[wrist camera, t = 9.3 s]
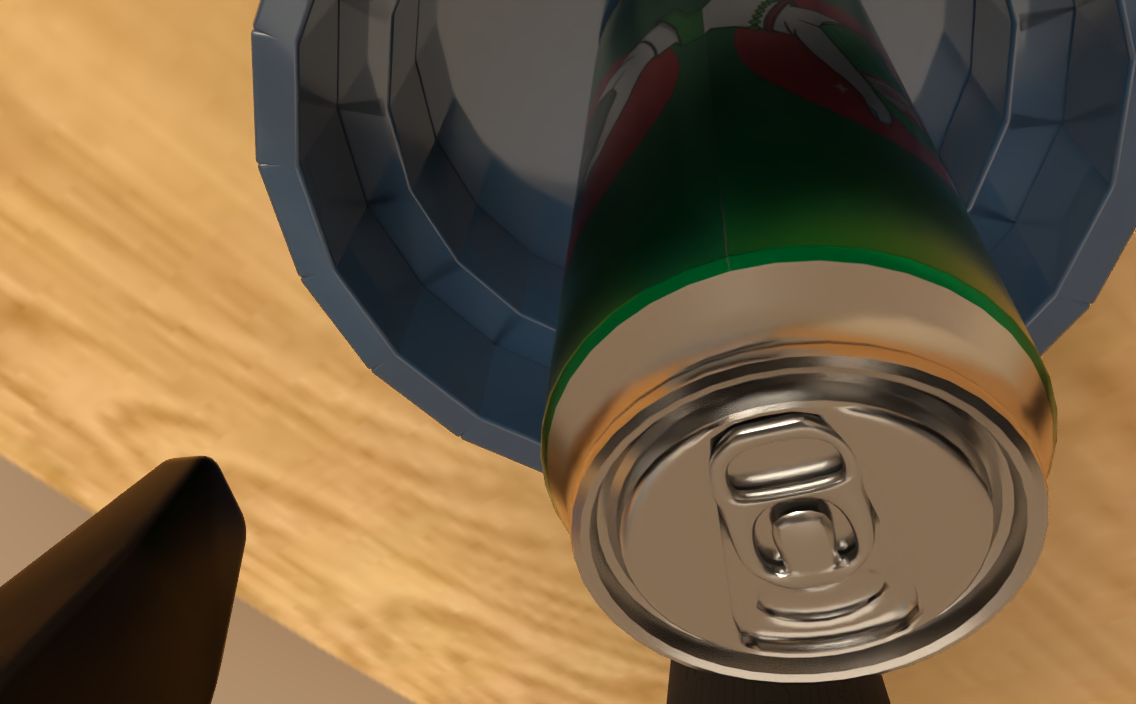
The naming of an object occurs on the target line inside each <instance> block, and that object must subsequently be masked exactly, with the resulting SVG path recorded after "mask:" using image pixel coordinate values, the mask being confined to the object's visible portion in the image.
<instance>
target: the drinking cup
mask: <svg viewBox="0 0 1136 704" xmlns="http://www.w3.org/2000/svg"><path fill="white" fill-rule="evenodd" d="M667 704H890V700H889V697H888V694H887V691H886V688H885V685H884V681H883V678H882V675H881V674H880V675H876V676H871V677H866V678H861V679H856V680H851V681H845V682H835V683H825V684H815V685H778V684H767V683H757V682H747V681H742V680H737V679H732V678H727V677H721V676H717V675H713V674H710V673H707V672H704V671H700V670H697V669H694V668H691V667H687V666H685V665H683V664H681V663H678V662H676V661H674V660H671V664H670V675H669V685H668V695H667Z"/></svg>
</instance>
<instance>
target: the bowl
mask: <svg viewBox="0 0 1136 704" xmlns="http://www.w3.org/2000/svg"><path fill="white" fill-rule="evenodd" d="M618 2H619V0H260V2H259V5H258V8H257V12H256V15H255V18H254V21H253V28H254V29H253V30H252V32H251V46H252V73H253V99H254V125H255V152H256V161H257V163H258V168H259V171H260V174H261V176H262V179H263V182H264V184H265V187H266V190H267V192H268V195H269V198H270V201H271V203H272V206H273V209H274V211H275V214H276V217H277V219H278V222H279V225H280V227H281V230H282V233H283V235H284V238H285V241H286V243H287V246H288V249H289V251H290V254H291V257H292V259H293V262H294V265H295V267H296V270H297V273H298V275H299V276H300V277H301V281H302V283H303V284H304V285H305V287H306V288H307V289H308V290H309V292H310V293H311V294H312V296H313V297H314V298H315V300H316V301H317V302H318V304H319V305H320V306H321V307H322V309H323V310H324V311H325V313H326V314H327V315H328V317H329V318H330V319H331V321H332V322H333V323H334V324H335V326H336V327H337V328H338V330H339V331H340V332H341V334H342V335H343V336H344V337H345V339H346V340H347V341H348V343H349V344H350V345H351V347H352V348H353V349H354V351H355V352H356V353H357V354H358V356H359V357H360V358H361V360H362V361H363V362H364V364H365V365H366V366H367V367H368V368H369V369H371V370H372V372H373V373H374V374H375V375H376V376H378V377H379V378H380V379H382V380H383V381H384V382H386V383H387V384H388V385H390V386H391V387H392V388H394V389H395V390H396V391H398V392H399V393H400V394H402V395H403V396H404V397H406V398H407V399H408V400H410V401H411V402H412V403H413V404H415V405H416V406H417V407H419V408H420V409H421V410H423V411H424V412H425V413H427V414H428V415H429V416H431V417H432V418H433V419H435V420H436V421H437V422H439V423H440V424H441V425H443V426H444V427H445V428H447V429H448V430H449V431H451V432H452V433H453V434H455V435H456V436H458V437H459V436H461V438H462V439H463V440H465V441H468V442H470V443H472V444H475V445H477V446H479V447H482V448H484V449H487V450H489V451H491V452H494V453H496V454H499V455H501V456H503V457H506V458H508V459H511V460H513V461H515V462H518V463H520V464H523V465H525V466H527V467H530V468H532V469H535V470H537V471H539V472H542V473H543V468H542V462H541V433H542V421H543V414H544V408H545V401H546V394H547V387H548V380H549V373H550V367H551V360H552V353H553V346H554V339H555V332H556V326H557V319H558V312H559V305H560V298H561V291H562V285H563V278H564V271H565V264H566V257H567V250H568V244H569V237H570V230H571V223H572V216H573V209H574V203H575V196H576V189H577V182H578V175H579V168H580V162H581V155H582V148H583V141H584V134H585V128H586V121H587V114H588V107H589V100H590V93H591V87H592V80H593V73H594V66H595V59H596V55H597V51H598V46H599V42H600V38H601V36H602V33H603V31H604V28H605V26H606V23H607V21H608V19H609V17H610V15H611V13H612V12H613V10H614V8H615V7H616V5H617V4H618ZM861 2H862V4H863V6H864V8H865V10H866V12H867V14H868V16H869V18H870V20H871V22H872V24H873V26H874V28H875V30H876V32H877V34H878V36H879V38H880V40H881V42H882V44H883V46H884V48H885V50H886V52H887V54H888V56H889V58H890V60H891V62H892V64H893V66H894V68H895V69H896V71H897V73H898V75H899V77H900V79H901V81H902V83H903V85H904V87H905V89H906V91H907V93H908V95H909V97H910V99H911V101H912V103H913V105H914V107H915V109H916V111H917V113H918V115H919V117H920V119H921V121H922V123H923V125H924V127H925V129H926V131H927V133H928V135H929V137H930V139H931V141H932V143H933V145H934V147H935V149H936V151H937V153H938V155H939V157H940V159H941V161H942V163H943V164H944V166H945V168H946V170H947V172H948V174H949V176H950V178H951V180H952V182H953V184H954V186H955V188H956V190H957V192H958V194H959V196H960V198H961V200H962V202H963V204H964V206H965V208H966V210H967V212H968V214H969V216H970V218H971V220H972V222H973V224H974V226H975V228H976V230H977V232H978V234H979V236H980V238H981V240H982V242H983V244H984V246H985V248H986V250H987V252H988V254H989V256H990V258H991V259H992V261H993V263H994V265H995V267H996V269H997V271H998V273H999V275H1000V277H1001V279H1002V281H1003V283H1004V285H1005V287H1006V289H1007V291H1008V293H1009V295H1010V297H1011V299H1012V301H1013V303H1014V305H1015V307H1016V309H1017V311H1018V313H1019V315H1020V317H1021V319H1022V321H1023V323H1024V325H1025V327H1026V329H1027V331H1028V333H1029V335H1030V337H1031V339H1032V341H1033V343H1034V345H1035V347H1036V349H1037V351H1038V353H1039V355H1040V356H1041V355H1042V354H1043V353H1044V352H1045V351H1046V350H1047V349H1048V348H1049V347H1050V346H1051V345H1052V344H1053V343H1054V342H1055V341H1056V340H1057V339H1059V338H1060V337H1061V336H1062V335H1063V334H1064V333H1065V332H1066V331H1067V330H1068V329H1069V328H1070V327H1071V326H1072V325H1073V324H1074V323H1075V322H1076V321H1077V320H1078V319H1079V318H1080V317H1081V316H1082V315H1083V314H1084V313H1085V312H1086V311H1087V310H1088V309H1089V307H1090V304H1093V303H1094V302H1095V300H1096V298H1097V297H1098V295H1099V293H1100V291H1101V289H1102V288H1103V286H1104V284H1105V282H1106V280H1107V279H1108V277H1109V275H1110V273H1111V271H1112V270H1113V268H1114V266H1115V264H1116V262H1117V261H1118V259H1119V257H1120V255H1121V253H1122V252H1123V250H1124V248H1125V246H1126V244H1127V243H1128V241H1129V239H1130V237H1131V235H1132V234H1133V232H1134V230H1135V228H1136V0H861Z"/></svg>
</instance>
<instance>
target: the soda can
mask: <svg viewBox="0 0 1136 704" xmlns="http://www.w3.org/2000/svg"><path fill="white" fill-rule="evenodd" d="M1056 442H1057V406H1056V402H1055V397H1054V393H1053V388H1052V384H1051V380H1050V376H1049V374H1048V372H1047V370H1046V368H1045V366H1044V363H1043V361H1042V359H1041V357H1040V355H1039V353H1038V351H1037V349H1036V347H1035V345H1034V343H1033V341H1032V339H1031V337H1030V335H1029V333H1028V331H1027V329H1026V327H1025V325H1024V323H1023V321H1022V319H1021V317H1020V315H1019V313H1018V311H1017V309H1016V307H1015V305H1014V303H1013V301H1012V299H1011V297H1010V295H1009V293H1008V291H1007V289H1006V287H1005V285H1004V283H1003V281H1002V279H1001V277H1000V275H999V273H998V271H997V269H996V267H995V265H994V263H993V261H992V259H991V258H990V256H989V254H988V252H987V250H986V248H985V246H984V244H983V242H982V240H981V238H980V236H979V234H978V232H977V230H976V228H975V226H974V224H973V222H972V220H971V218H970V216H969V214H968V212H967V210H966V208H965V206H964V204H963V202H962V200H961V198H960V196H959V194H958V192H957V190H956V188H955V186H954V184H953V182H952V180H951V178H950V176H949V174H948V172H947V170H946V168H945V166H944V164H943V163H942V161H941V159H940V157H939V155H938V153H937V151H936V149H935V147H934V145H933V143H932V141H931V139H930V137H929V135H928V133H927V131H926V129H925V127H924V125H923V123H922V121H921V119H920V117H919V115H918V113H917V111H916V109H915V107H914V105H913V103H912V101H911V99H910V97H909V95H908V93H907V91H906V89H905V87H904V85H903V83H902V81H901V79H900V77H899V75H898V73H897V71H896V69H895V68H894V66H893V64H892V62H891V60H890V58H889V56H888V54H887V52H886V50H885V48H884V46H883V44H882V42H881V40H880V38H879V36H878V34H877V32H876V30H875V28H874V26H873V24H872V22H871V20H870V18H869V16H868V14H867V12H866V10H865V8H864V6H863V4H862V2H861V0H619V2H618V4H617V5H616V7H615V8H614V10H613V12H612V13H611V15H610V17H609V19H608V21H607V23H606V26H605V28H604V31H603V33H602V36H601V38H600V42H599V46H598V51H597V55H596V59H595V66H594V73H593V80H592V87H591V93H590V100H589V107H588V114H587V121H586V128H585V134H584V141H583V148H582V155H581V162H580V168H579V175H578V182H577V189H576V196H575V203H574V209H573V216H572V223H571V230H570V237H569V244H568V250H567V257H566V264H565V271H564V278H563V285H562V291H561V298H560V305H559V312H558V319H557V326H556V332H555V339H554V346H553V353H552V360H551V367H550V373H549V380H548V387H547V394H546V401H545V408H544V414H543V421H542V433H541V462H542V468H543V474H544V480H545V485H546V488H547V491H548V493H549V496H550V498H551V501H552V504H553V506H554V509H555V511H556V513H557V515H558V517H559V518H560V520H561V521H562V523H563V525H564V526H565V528H566V529H567V531H568V533H569V534H570V539H571V545H572V552H573V555H574V559H575V561H576V564H577V567H578V569H579V572H580V574H581V577H582V580H583V582H584V584H585V585H586V587H587V589H588V590H589V592H590V593H591V595H592V597H593V598H594V600H595V601H596V603H597V604H598V605H599V606H600V608H601V609H602V610H603V611H604V612H605V613H606V614H607V615H608V616H609V617H610V619H611V620H612V621H613V622H614V623H615V624H616V625H618V626H619V627H620V628H621V629H623V630H624V631H625V632H626V633H628V634H629V635H630V636H631V637H633V638H634V639H635V640H636V641H638V642H640V643H642V644H643V645H645V646H647V647H648V648H650V649H652V650H653V651H655V652H657V653H658V654H660V655H662V656H664V657H667V658H669V659H671V660H674V661H676V662H678V663H681V664H683V665H685V666H687V667H691V668H694V669H697V670H700V671H704V672H707V673H710V674H713V675H717V676H721V677H727V678H732V679H737V680H742V681H747V682H757V683H767V684H778V685H815V684H825V683H835V682H845V681H851V680H856V679H861V678H866V677H871V676H876V675H880V674H884V673H887V672H890V671H894V670H897V669H900V668H904V667H907V666H910V665H913V664H915V663H917V662H920V661H922V660H924V659H927V658H929V657H932V656H934V655H936V654H939V653H941V652H943V651H944V650H946V649H948V648H950V647H951V646H953V645H955V644H957V643H959V642H960V641H962V640H964V639H966V638H968V637H969V636H970V635H972V634H973V633H974V632H976V631H977V630H978V629H980V628H981V627H982V626H984V625H985V624H986V623H988V622H989V621H990V620H992V619H993V618H994V617H995V616H996V615H997V614H998V613H999V612H1000V611H1001V610H1002V609H1003V608H1004V607H1005V606H1006V605H1007V604H1008V603H1009V602H1010V601H1011V600H1012V599H1013V598H1014V597H1015V595H1016V594H1017V593H1018V591H1019V590H1020V588H1021V587H1022V586H1023V584H1024V583H1025V582H1026V580H1027V579H1028V577H1029V576H1030V574H1031V572H1032V570H1033V568H1034V566H1035V564H1036V562H1037V560H1038V557H1039V555H1040V553H1041V551H1042V548H1043V543H1044V539H1045V535H1046V531H1047V526H1048V486H1047V482H1046V479H1047V477H1048V475H1049V472H1050V469H1051V464H1052V460H1053V455H1054V451H1055V447H1056Z"/></svg>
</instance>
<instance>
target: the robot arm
mask: <svg viewBox="0 0 1136 704" xmlns="http://www.w3.org/2000/svg"><path fill="white" fill-rule="evenodd" d="M245 541H246V525H245V520H244V517H243V514H242V512H241V510H240V508H239V506H238V504H237V502H236V500H235V498H234V496H233V494H232V491H231V489H230V487H229V485H228V483H227V481H226V479H225V477H224V475H223V473H222V471H221V469H220V467H219V466H218V464H217V463H216V462H215V461H214V460H213V459H212V458H210V457H207V456H193V457H181V458H173V459H169V460H166V461H164V462H163V463H161V464H160V465H159V466H157V467H156V468H155V469H154V470H152V471H151V472H150V473H148V474H147V475H146V476H144V477H143V478H142V479H141V480H139V481H138V482H137V483H135V484H134V485H133V486H131V487H130V488H129V489H127V490H126V491H125V492H124V493H122V494H121V495H120V496H118V497H117V498H116V499H114V500H113V501H112V502H111V503H109V504H108V505H107V506H105V507H104V508H103V509H101V510H100V511H99V512H98V513H96V514H95V515H94V516H92V517H91V518H90V519H88V520H87V521H86V522H85V523H83V524H82V525H81V526H79V527H78V528H77V529H76V530H74V531H73V532H71V533H70V534H69V535H68V536H66V537H65V538H64V539H62V540H61V541H60V542H58V543H57V544H56V545H55V546H53V547H52V548H51V549H49V550H48V551H47V552H45V553H44V554H43V555H41V556H40V557H39V558H38V559H36V560H35V561H34V562H32V563H31V564H30V565H28V566H27V567H26V568H25V569H23V570H22V571H21V572H19V573H18V574H17V575H15V576H14V577H13V578H12V579H10V580H9V581H8V582H6V583H5V584H4V585H2V586H1V587H0V704H211V701H212V698H213V694H214V691H215V687H216V684H217V680H218V675H219V671H220V667H221V663H222V658H223V653H224V648H225V642H226V638H227V633H228V628H229V623H230V617H231V612H232V607H233V602H234V597H235V592H236V587H237V582H238V577H239V572H240V567H241V562H242V557H243V552H244V547H245Z"/></svg>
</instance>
